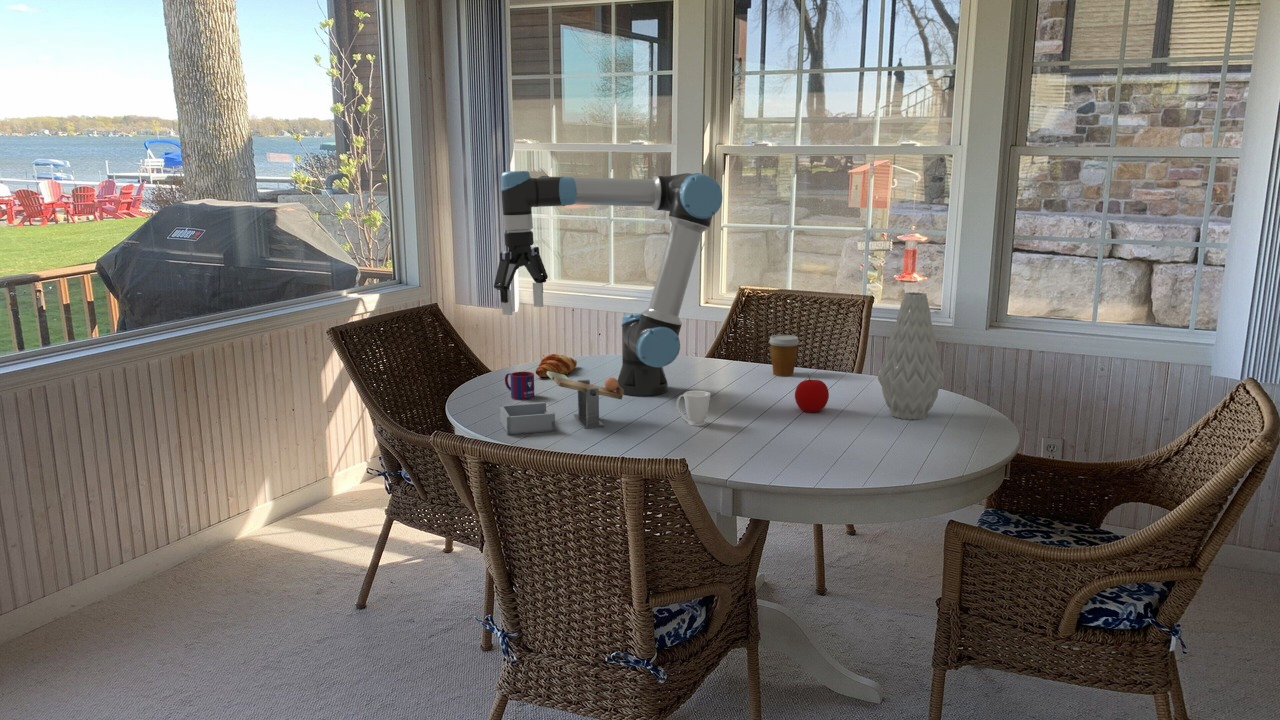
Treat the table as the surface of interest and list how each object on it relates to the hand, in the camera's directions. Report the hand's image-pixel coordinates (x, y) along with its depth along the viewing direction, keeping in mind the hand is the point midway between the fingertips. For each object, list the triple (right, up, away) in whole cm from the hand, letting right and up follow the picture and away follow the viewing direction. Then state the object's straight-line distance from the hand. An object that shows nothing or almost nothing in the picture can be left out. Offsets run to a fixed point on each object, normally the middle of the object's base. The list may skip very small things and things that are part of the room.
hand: (523, 310), depth 255 cm
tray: (+2, -30, -11) cm, 32 cm away
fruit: (+78, -27, +4) cm, 82 cm away
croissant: (+5, -18, +50) cm, 53 cm away
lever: (+16, -20, -5) cm, 27 cm away
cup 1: (-4, -24, +21) cm, 32 cm away
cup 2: (+45, -30, -8) cm, 54 cm away
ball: (+24, -20, -7) cm, 32 cm away
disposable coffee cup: (+77, -18, +48) cm, 92 cm away
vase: (+102, -28, -2) cm, 106 cm away
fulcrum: (+18, -29, -7) cm, 35 cm away
